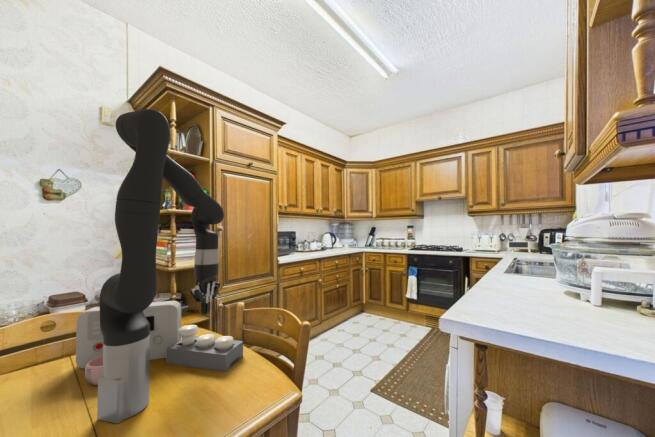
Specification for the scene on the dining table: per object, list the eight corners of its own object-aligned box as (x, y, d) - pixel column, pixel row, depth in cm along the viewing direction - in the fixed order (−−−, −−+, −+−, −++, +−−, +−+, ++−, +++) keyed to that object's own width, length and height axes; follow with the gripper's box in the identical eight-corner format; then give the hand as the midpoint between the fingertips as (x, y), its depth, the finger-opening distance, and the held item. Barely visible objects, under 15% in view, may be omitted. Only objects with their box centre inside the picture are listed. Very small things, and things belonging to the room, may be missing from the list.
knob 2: (207, 360, 85) (207, 341, 85) (192, 358, 86) (192, 340, 86) (218, 352, 90) (218, 334, 90) (204, 350, 92) (204, 333, 92)
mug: (103, 391, 71) (103, 369, 72) (75, 387, 73) (75, 365, 73) (142, 368, 83) (143, 349, 83) (117, 364, 85) (117, 346, 85)
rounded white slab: (70, 374, 80) (71, 314, 80) (85, 361, 87) (86, 307, 88) (175, 359, 88) (176, 305, 89) (180, 349, 96) (181, 299, 96)
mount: (225, 371, 81) (225, 355, 81) (166, 363, 86) (166, 347, 86) (243, 355, 90) (243, 341, 91) (188, 349, 95) (189, 335, 96)
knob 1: (189, 350, 86) (189, 331, 87) (174, 348, 88) (175, 330, 88) (200, 342, 92) (201, 325, 92) (187, 341, 93) (187, 324, 93)
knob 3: (226, 362, 83) (226, 343, 83) (211, 361, 84) (211, 342, 85) (236, 354, 89) (236, 336, 89) (221, 352, 90) (221, 335, 90)
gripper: (203, 265, 82) (201, 321, 81) (228, 260, 95) (227, 308, 94) (182, 264, 84) (181, 319, 83) (209, 259, 96) (208, 307, 96)
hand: (205, 313), depth 88 cm, fingers closed
